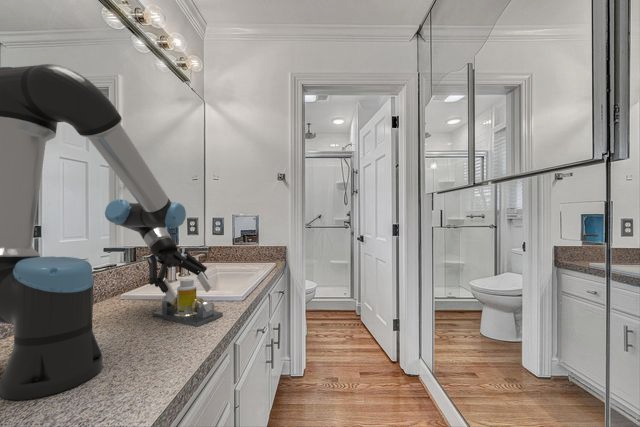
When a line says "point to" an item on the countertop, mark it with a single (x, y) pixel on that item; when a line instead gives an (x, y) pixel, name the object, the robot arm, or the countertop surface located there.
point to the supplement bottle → (185, 296)
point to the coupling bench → (200, 315)
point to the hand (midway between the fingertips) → (192, 294)
